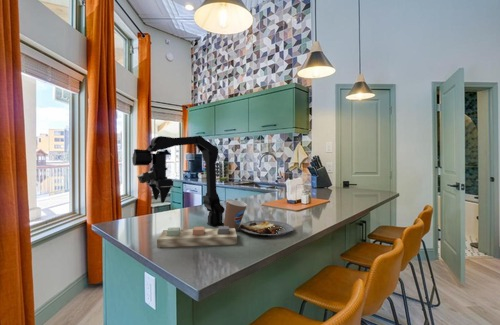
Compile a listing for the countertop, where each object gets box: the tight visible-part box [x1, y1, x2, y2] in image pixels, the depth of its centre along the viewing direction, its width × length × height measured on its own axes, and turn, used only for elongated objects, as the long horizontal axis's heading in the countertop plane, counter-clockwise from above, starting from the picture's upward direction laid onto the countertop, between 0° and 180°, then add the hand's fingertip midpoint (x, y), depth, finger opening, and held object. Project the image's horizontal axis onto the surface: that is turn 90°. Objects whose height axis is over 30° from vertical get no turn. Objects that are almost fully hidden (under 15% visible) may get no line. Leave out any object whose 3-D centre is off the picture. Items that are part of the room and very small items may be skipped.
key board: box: [156, 228, 238, 248], centre depth 102 cm, size 30×12×3 cm, turn 98°
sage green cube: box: [166, 226, 181, 236], centre depth 101 cm, size 4×4×4 cm
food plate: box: [238, 219, 295, 237], centre depth 117 cm, size 25×23×4 cm
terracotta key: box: [192, 226, 206, 235], centre depth 102 cm, size 4×4×4 cm
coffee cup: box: [223, 198, 248, 231], centre depth 120 cm, size 10×10×12 cm
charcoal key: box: [217, 225, 229, 234], centre depth 103 cm, size 4×4×4 cm
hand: (159, 201), depth 110 cm, fingers open, 9 cm apart
